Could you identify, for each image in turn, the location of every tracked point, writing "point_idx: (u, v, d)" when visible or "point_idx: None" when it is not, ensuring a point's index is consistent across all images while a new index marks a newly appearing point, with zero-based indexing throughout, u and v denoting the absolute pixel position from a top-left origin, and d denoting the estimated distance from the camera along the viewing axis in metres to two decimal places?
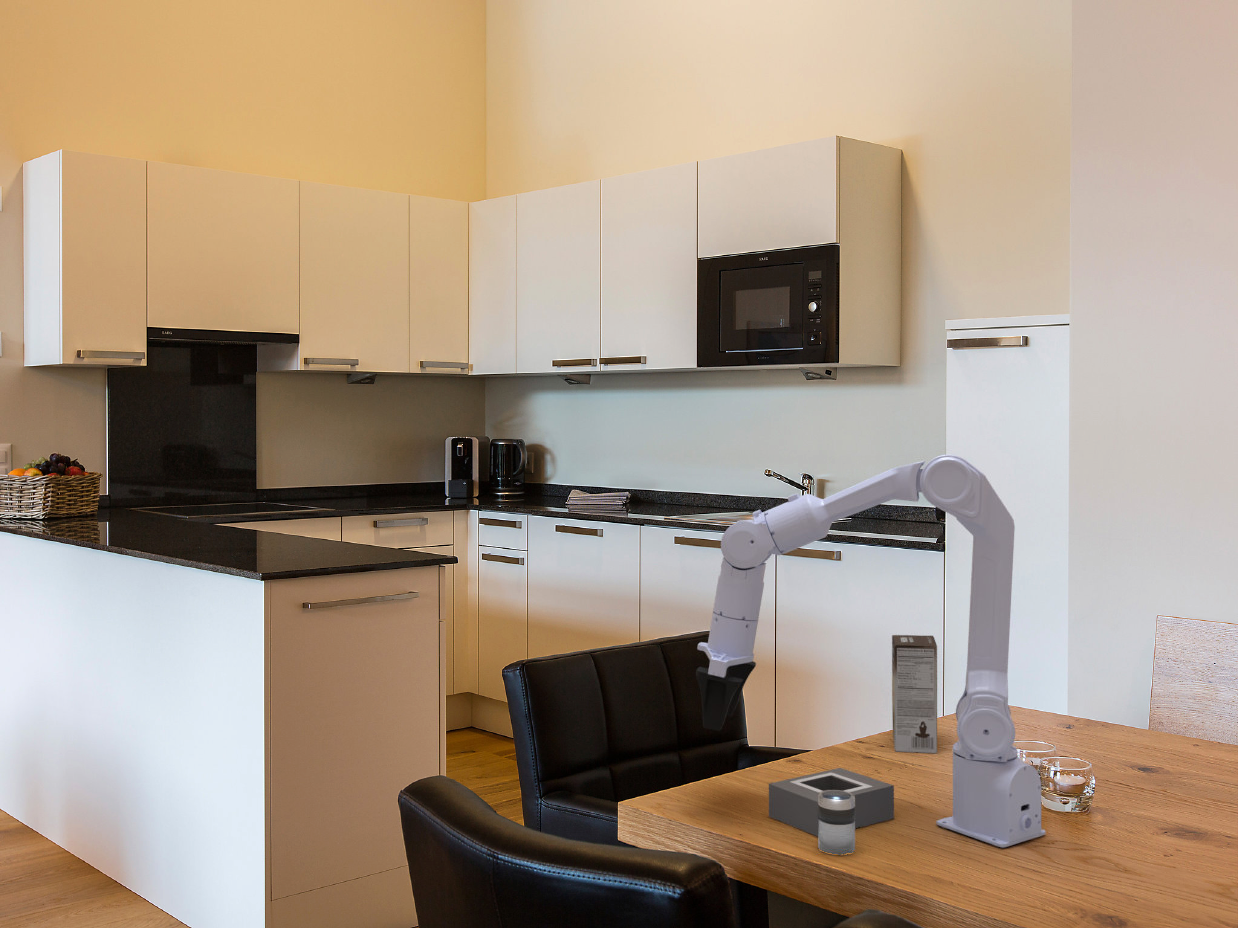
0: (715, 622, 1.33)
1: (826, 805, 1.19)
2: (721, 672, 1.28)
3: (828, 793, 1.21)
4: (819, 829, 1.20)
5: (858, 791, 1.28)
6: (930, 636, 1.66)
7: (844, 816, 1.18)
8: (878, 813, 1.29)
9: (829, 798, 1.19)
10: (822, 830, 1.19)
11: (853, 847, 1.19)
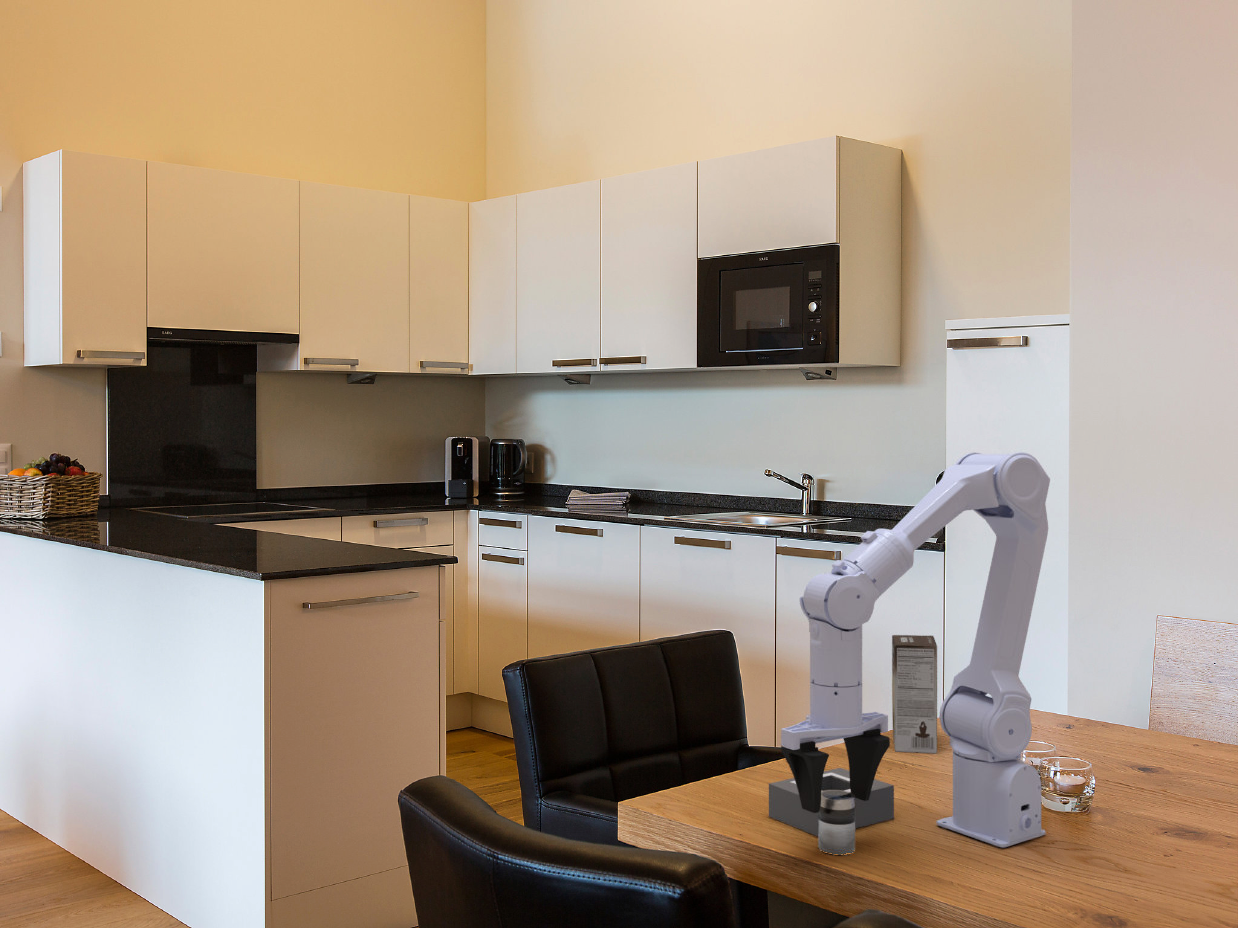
0: None
1: (826, 805, 1.19)
2: (790, 744, 1.16)
3: (828, 793, 1.21)
4: (819, 829, 1.20)
5: None
6: (930, 636, 1.66)
7: (845, 816, 1.18)
8: (878, 813, 1.29)
9: (829, 798, 1.19)
10: (822, 830, 1.19)
11: (853, 847, 1.19)
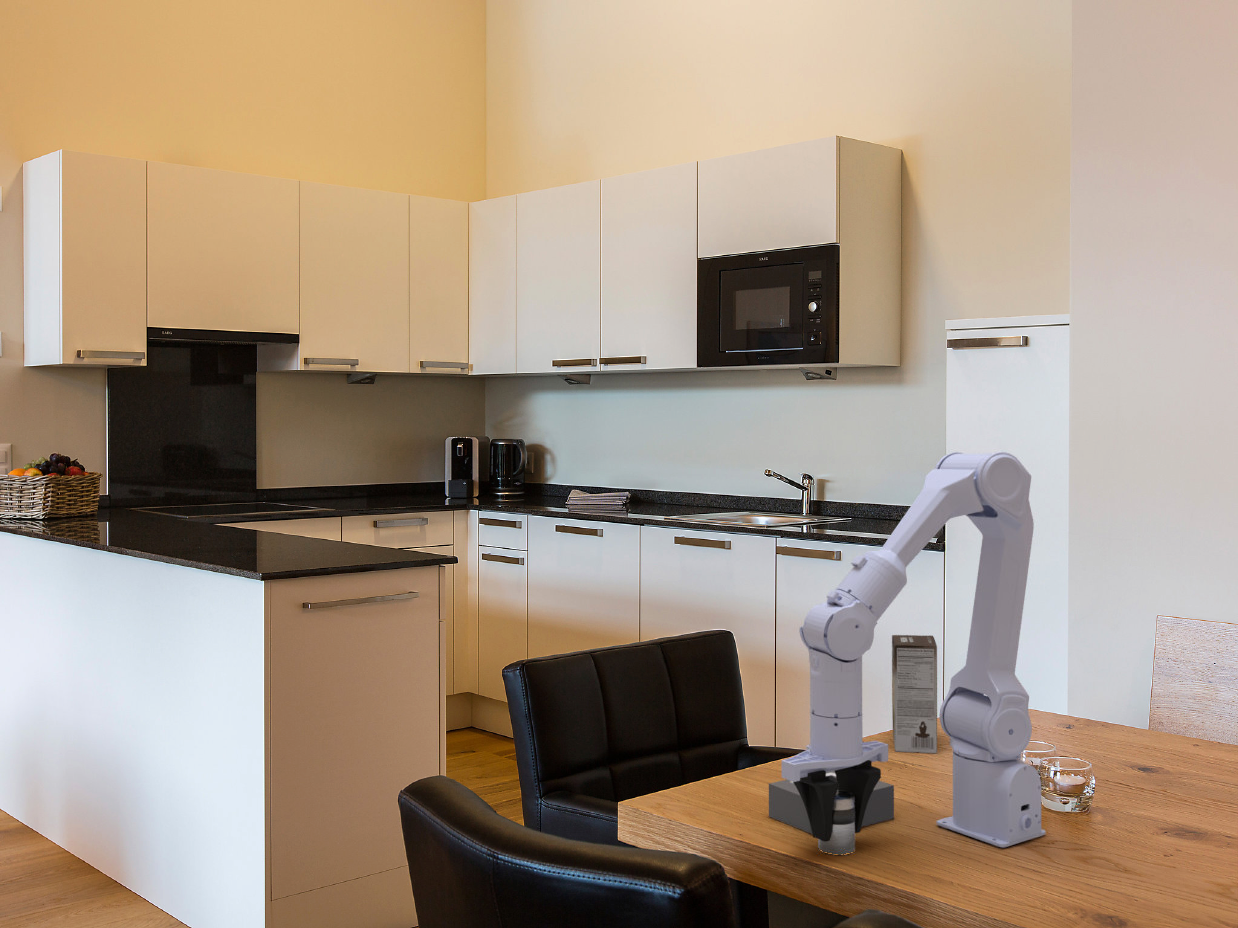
0: (810, 720, 1.21)
1: None
2: (791, 776, 1.16)
3: None
4: None
5: None
6: (930, 636, 1.66)
7: (844, 816, 1.18)
8: (878, 813, 1.29)
9: None
10: None
11: (853, 847, 1.19)
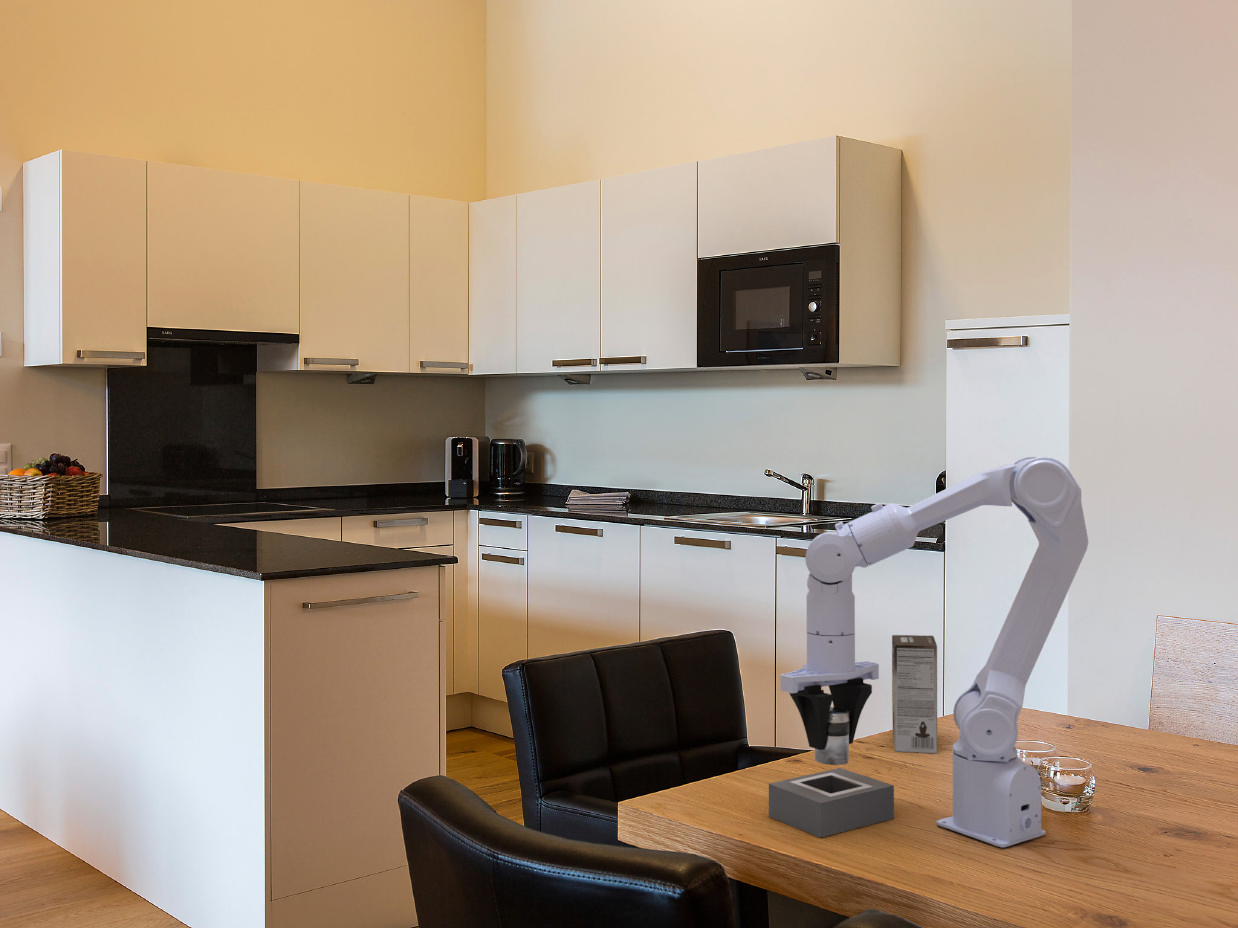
0: None
1: None
2: (789, 688, 1.26)
3: None
4: None
5: (858, 791, 1.28)
6: (930, 636, 1.66)
7: (838, 728, 1.28)
8: (878, 813, 1.29)
9: None
10: None
11: (846, 758, 1.29)
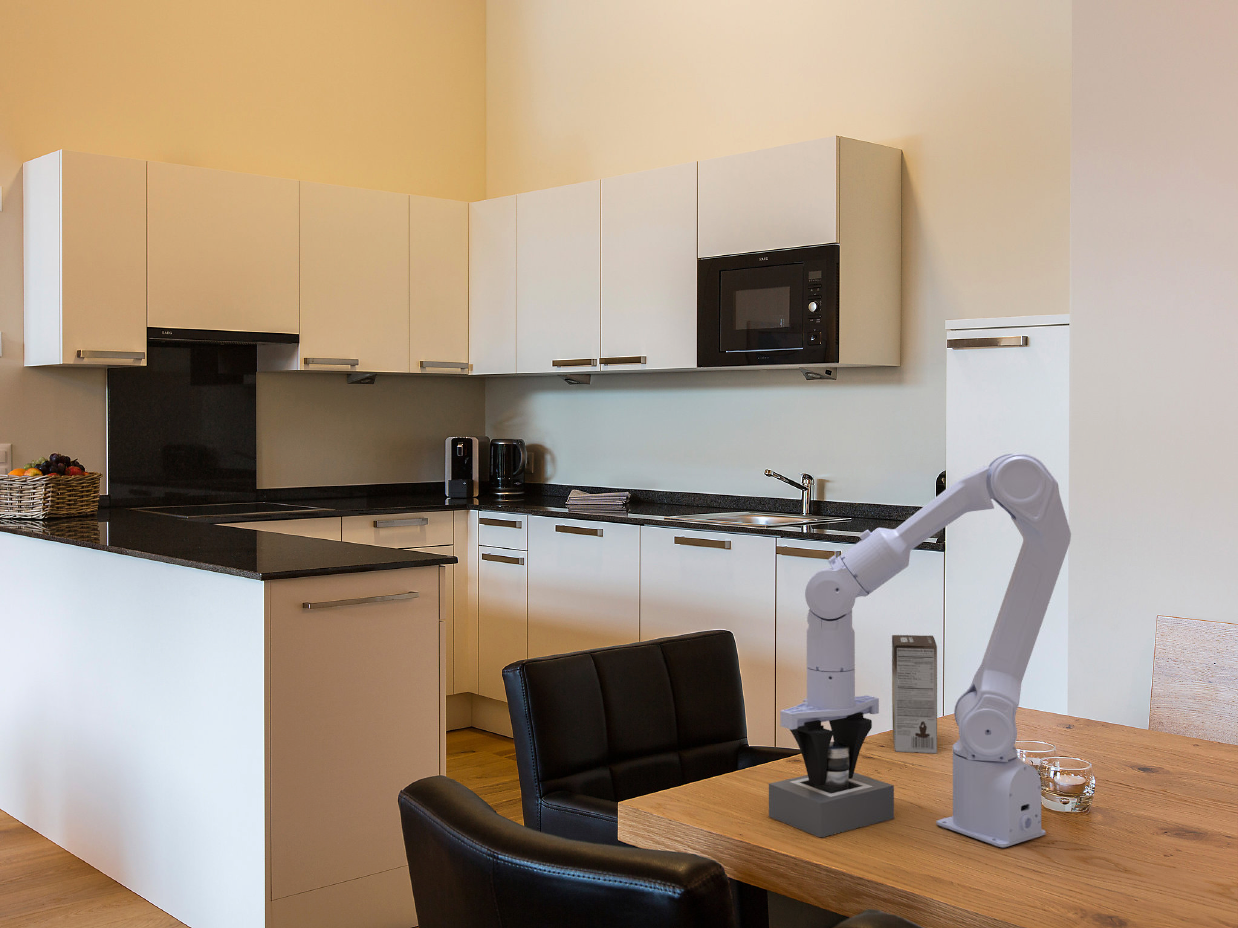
0: None
1: None
2: (789, 724, 1.26)
3: None
4: None
5: (858, 791, 1.28)
6: (930, 636, 1.66)
7: (838, 764, 1.29)
8: (878, 813, 1.29)
9: None
10: None
11: None
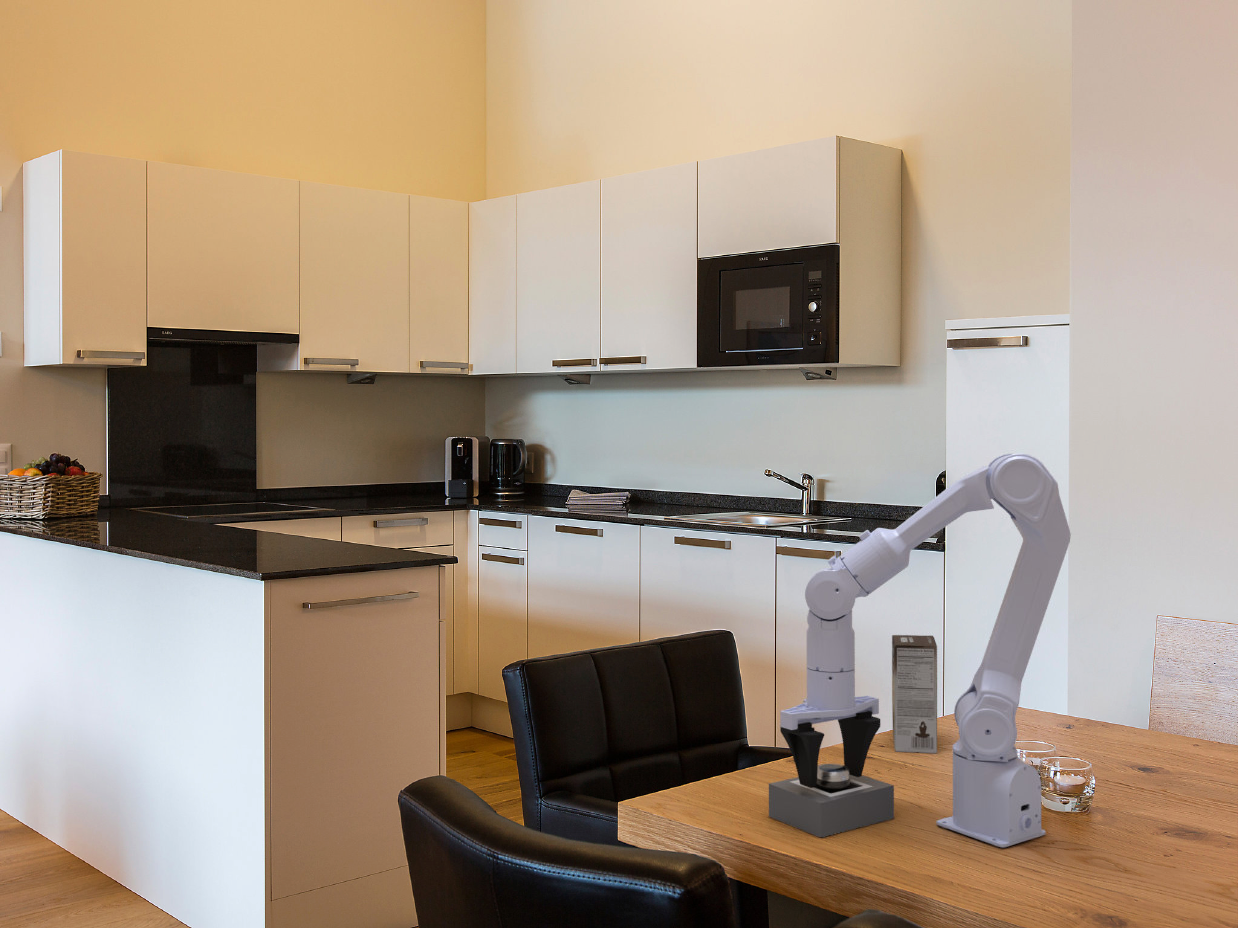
0: None
1: (821, 776, 1.29)
2: (789, 724, 1.26)
3: (825, 766, 1.31)
4: None
5: (858, 791, 1.28)
6: (930, 636, 1.66)
7: (838, 787, 1.29)
8: (878, 813, 1.29)
9: (824, 771, 1.29)
10: None
11: None
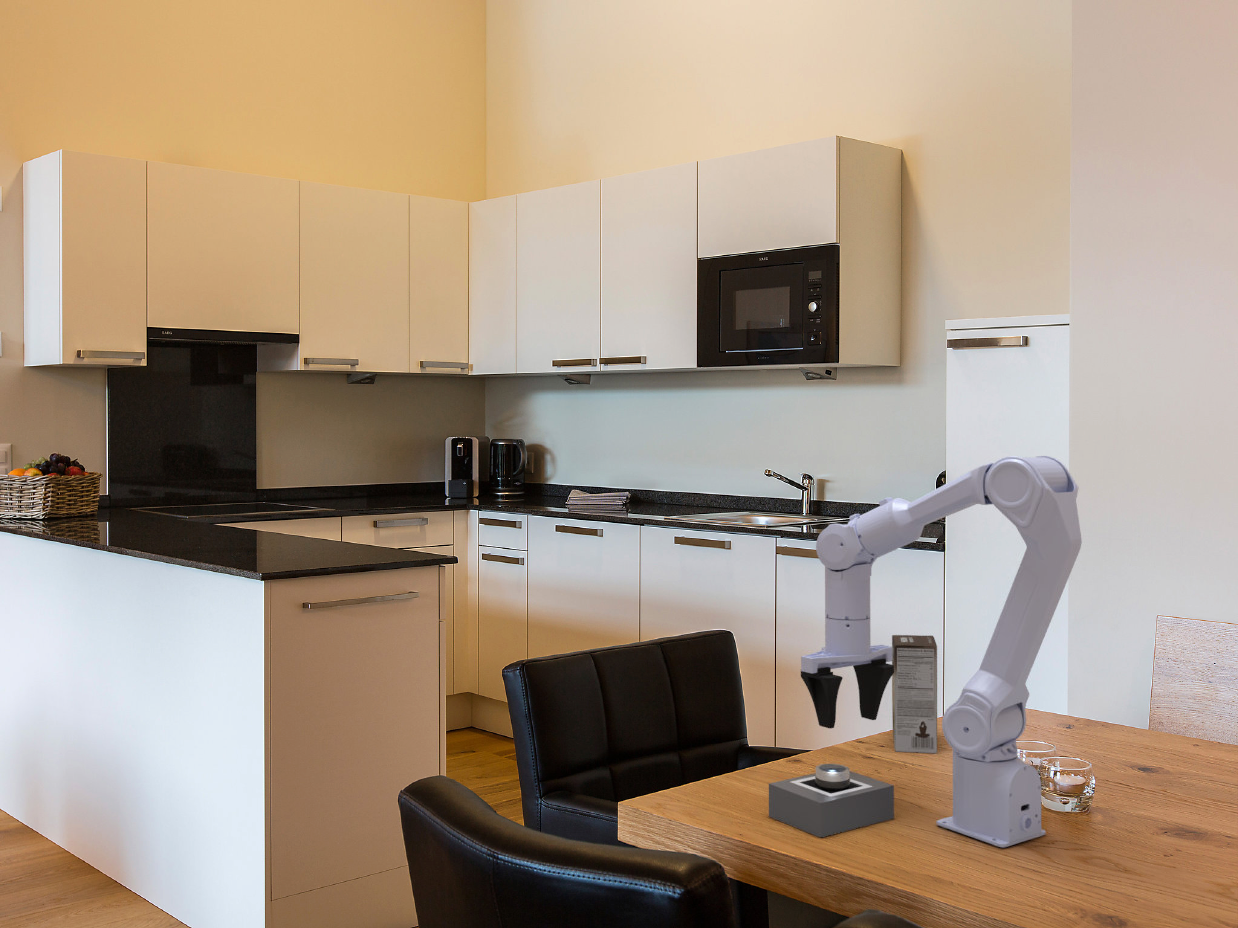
0: (825, 624, 1.40)
1: (821, 777, 1.29)
2: (809, 668, 1.35)
3: (825, 766, 1.31)
4: None
5: (858, 791, 1.28)
6: (930, 636, 1.66)
7: (838, 787, 1.29)
8: (878, 813, 1.29)
9: (825, 771, 1.29)
10: None
11: None
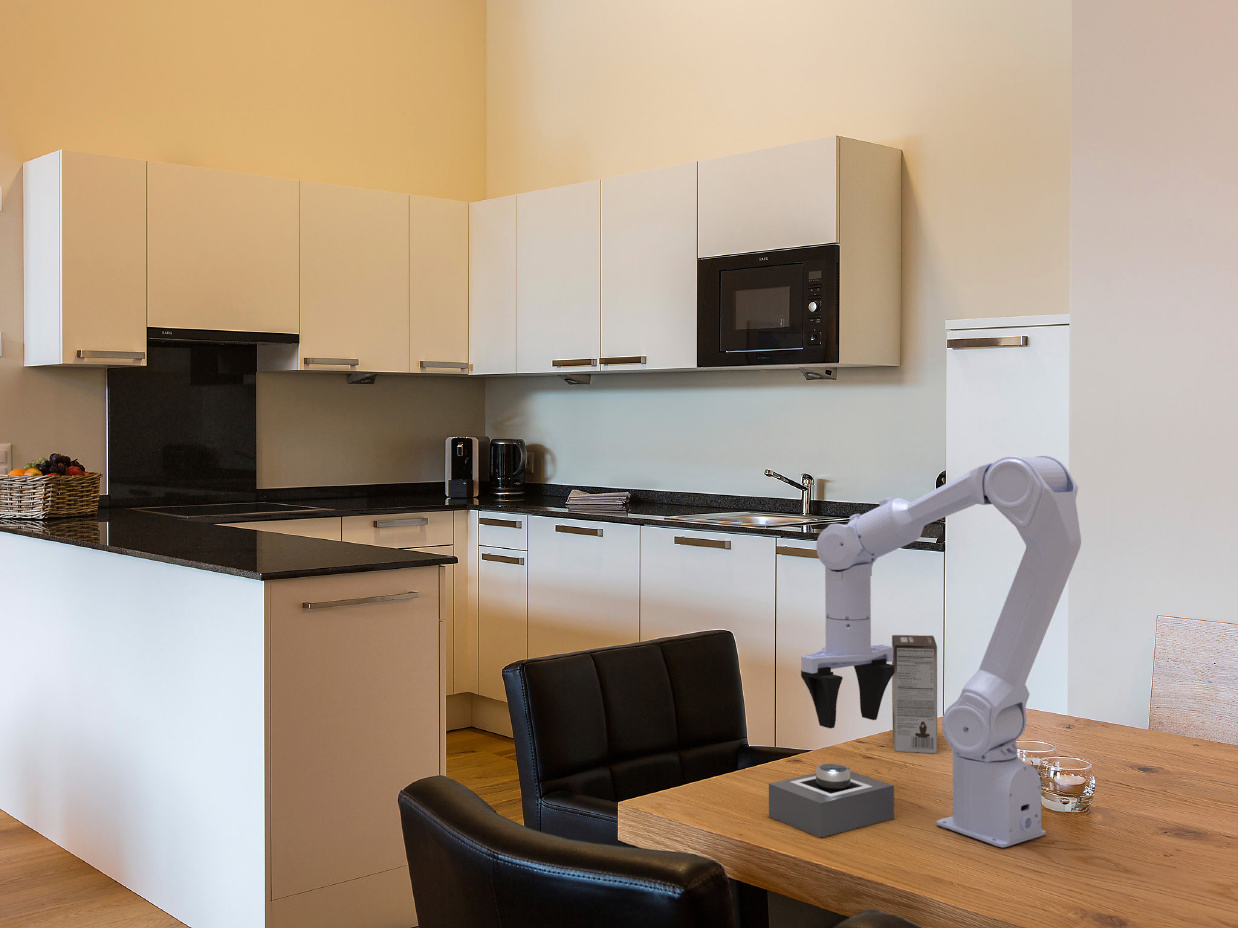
0: None
1: (822, 776, 1.29)
2: (809, 668, 1.35)
3: (826, 766, 1.31)
4: None
5: (858, 791, 1.28)
6: (930, 636, 1.66)
7: (839, 787, 1.29)
8: (878, 813, 1.29)
9: (825, 770, 1.29)
10: None
11: None
